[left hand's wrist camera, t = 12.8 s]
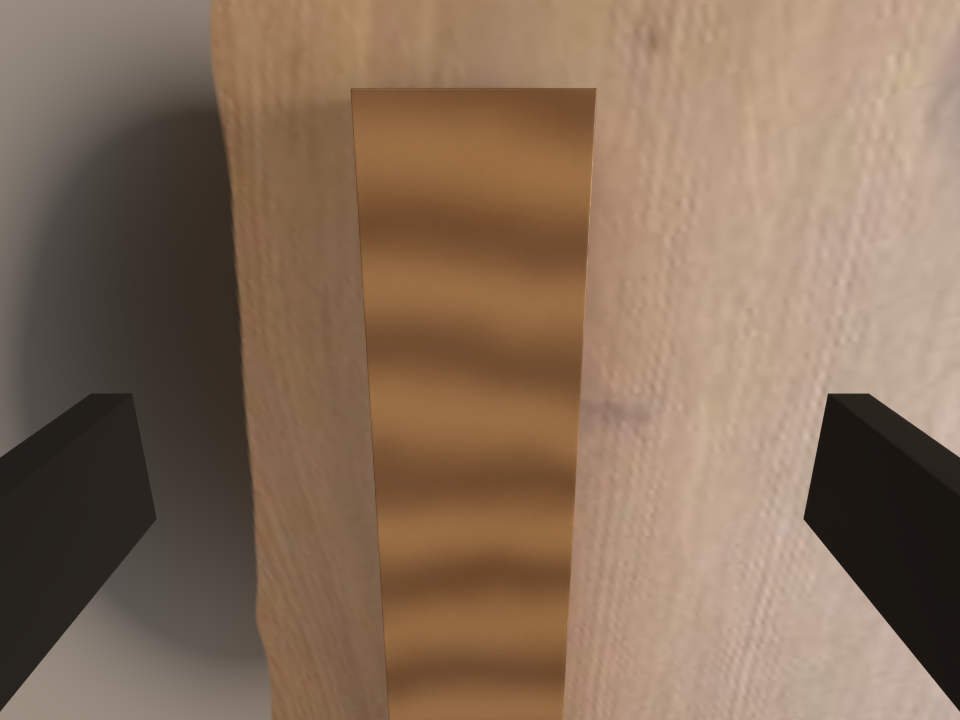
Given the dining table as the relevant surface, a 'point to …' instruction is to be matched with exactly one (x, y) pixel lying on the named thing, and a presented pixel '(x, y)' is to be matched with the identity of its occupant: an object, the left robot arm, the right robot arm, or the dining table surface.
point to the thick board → (474, 385)
